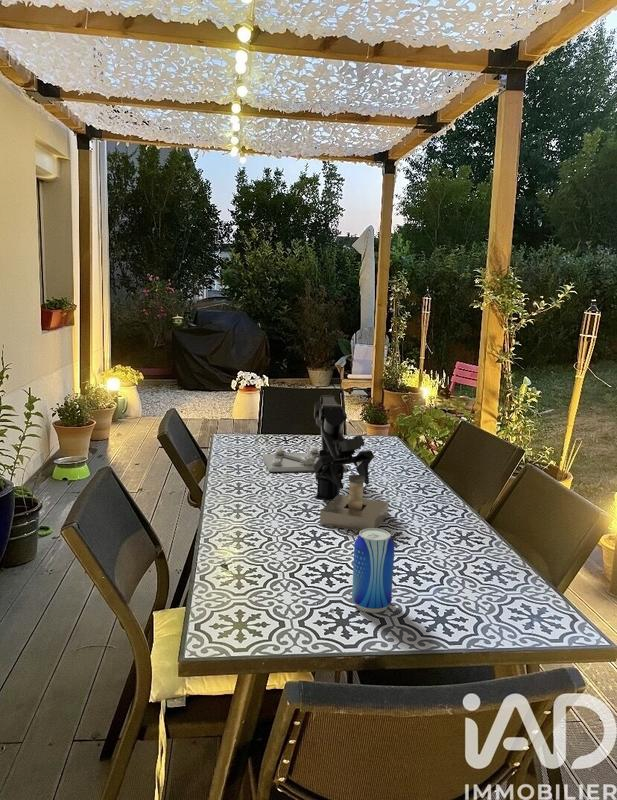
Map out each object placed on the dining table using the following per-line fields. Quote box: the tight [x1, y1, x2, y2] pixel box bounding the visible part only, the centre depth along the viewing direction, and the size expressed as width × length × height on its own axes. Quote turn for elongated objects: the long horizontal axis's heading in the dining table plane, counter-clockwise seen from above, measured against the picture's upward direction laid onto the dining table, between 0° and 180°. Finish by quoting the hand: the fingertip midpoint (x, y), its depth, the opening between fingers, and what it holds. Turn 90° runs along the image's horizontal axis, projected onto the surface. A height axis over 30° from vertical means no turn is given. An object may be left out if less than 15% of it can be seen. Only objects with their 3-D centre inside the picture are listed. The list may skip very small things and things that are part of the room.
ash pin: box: [348, 474, 365, 511], centre depth 184 cm, size 5×5×13 cm
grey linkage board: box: [261, 446, 349, 474], centre depth 242 cm, size 30×22×7 cm
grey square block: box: [319, 494, 389, 532], centre depth 185 cm, size 16×16×4 cm
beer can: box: [351, 528, 395, 614], centre depth 133 cm, size 8×8×16 cm
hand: (355, 486), depth 184 cm, fingers open, 9 cm apart
